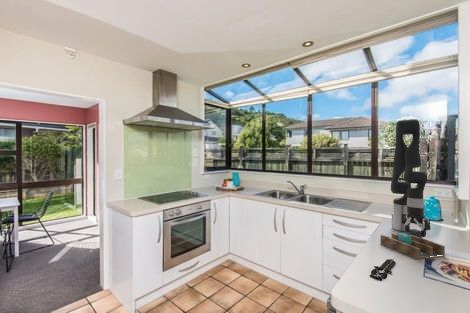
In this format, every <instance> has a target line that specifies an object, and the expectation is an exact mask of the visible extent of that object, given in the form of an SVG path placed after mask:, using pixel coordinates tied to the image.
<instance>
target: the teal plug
mask: <svg viewBox="0 0 470 313" xmlns="http://www.w3.org/2000/svg"><path fill="white" fill-rule="evenodd" d="M405 233H406V232H402V233H398V234H397V235H398V241H401V242H404V243H406V244H409V245H412V236H410V235H408V234H409V233H408V234H405Z"/></svg>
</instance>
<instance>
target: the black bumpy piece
mask: <svg viewBox="0 0 470 313" xmlns="http://www.w3.org/2000/svg"><path fill="white" fill-rule="evenodd" d="M396 264H397V263H396V261H395V260H394V259H393V258H390V259H386V260H384V261H383V263H382V264H381V265H380V266H378V265H375V266H373V267H374V268H375V269H374V268H372V269H371V271H370V274H369V277H370V278H372V279H375V280H378V281H380V282H381V281H383V279H387V277H388V274H389V275H391V274H393V271H392V269H393V267H394V266H395V265H396ZM381 270H382V271H384V272H380V271H381Z"/></svg>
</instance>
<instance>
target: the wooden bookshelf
mask: <svg viewBox="0 0 470 313" xmlns="http://www.w3.org/2000/svg"><path fill="white" fill-rule="evenodd" d="M404 233H405V234H408V235H410V236H412V245H409V244H406V243H404V242H401V241H398V234H396V233H391V236H387V235H385V234H380V240H379V241H380V243H379V244H380V245H383V246H384V247H386V248H387V247H388V248H389V249H392V250H394V251H396V252H398V253H401V254H404V255H405V256H408V257H411V258H413V259H415V260H418V261H419V260H425V258H426V257H430V256H437V255H446V253H445V252H446V249H445V248H446V247H445V245H444V244H441V243H437V242H434V241H431V240H428V239H426V238H424V237H422V238H420V237H417V236H414V235H411V234H409V232H404ZM426 259H427V258H426Z"/></svg>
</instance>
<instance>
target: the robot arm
mask: <svg viewBox="0 0 470 313" xmlns="http://www.w3.org/2000/svg"><path fill="white" fill-rule="evenodd" d="M420 125H421V124H420V122H419V120H418V119H417V118H416V119H414V118H412V119H410V118H409V119H400V120H397V122H396V125H395V146H394V155H393V166H392V167H393V169H392V176H391V182H390V191H391V193H392V194H394V195H395V194H396V195H403V196H400V197H397V198H396V197H395V198H393V201H392V202H393V203H392V204H393V208H392V209H393V211H392V214H391V228H392V229H393V230H396V231H400V232H405V233H409V229H411V224H414V225H417V226H418V227H419V228H420V231H421V237H422V238H426V236H427V231H430V230H431V219H430V218H424V214H425V212H424V210H425V207H424V206H425V202H424V190H425V186H426V184H427V181H428V175H427V173H426V172H425V171H419V170H418V171H416V170H415V171H414V170H413V169H417V168H420V167H421V166H422V159H421V152H420V143H421V141H420V140H421V128H420V127H421V126H420ZM406 135H407V136H408V135H410V136H411V135H412V140H411V141H410V143H409V145H408V146H407V144H406V142H405V141H404V136H406ZM402 175H403V180H400V177H401V176H402ZM412 184H416V186H412Z"/></svg>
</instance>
